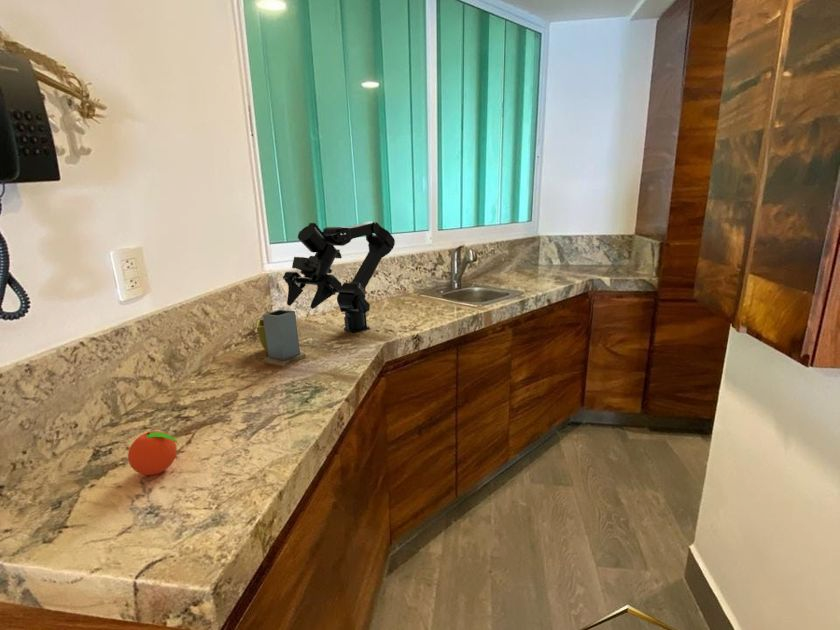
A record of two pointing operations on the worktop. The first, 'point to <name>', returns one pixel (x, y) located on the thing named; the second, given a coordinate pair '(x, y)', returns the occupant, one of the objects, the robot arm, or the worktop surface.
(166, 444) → the clementine
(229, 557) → the worktop surface
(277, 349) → the open square box
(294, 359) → the tan piece
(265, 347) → the flower pot
